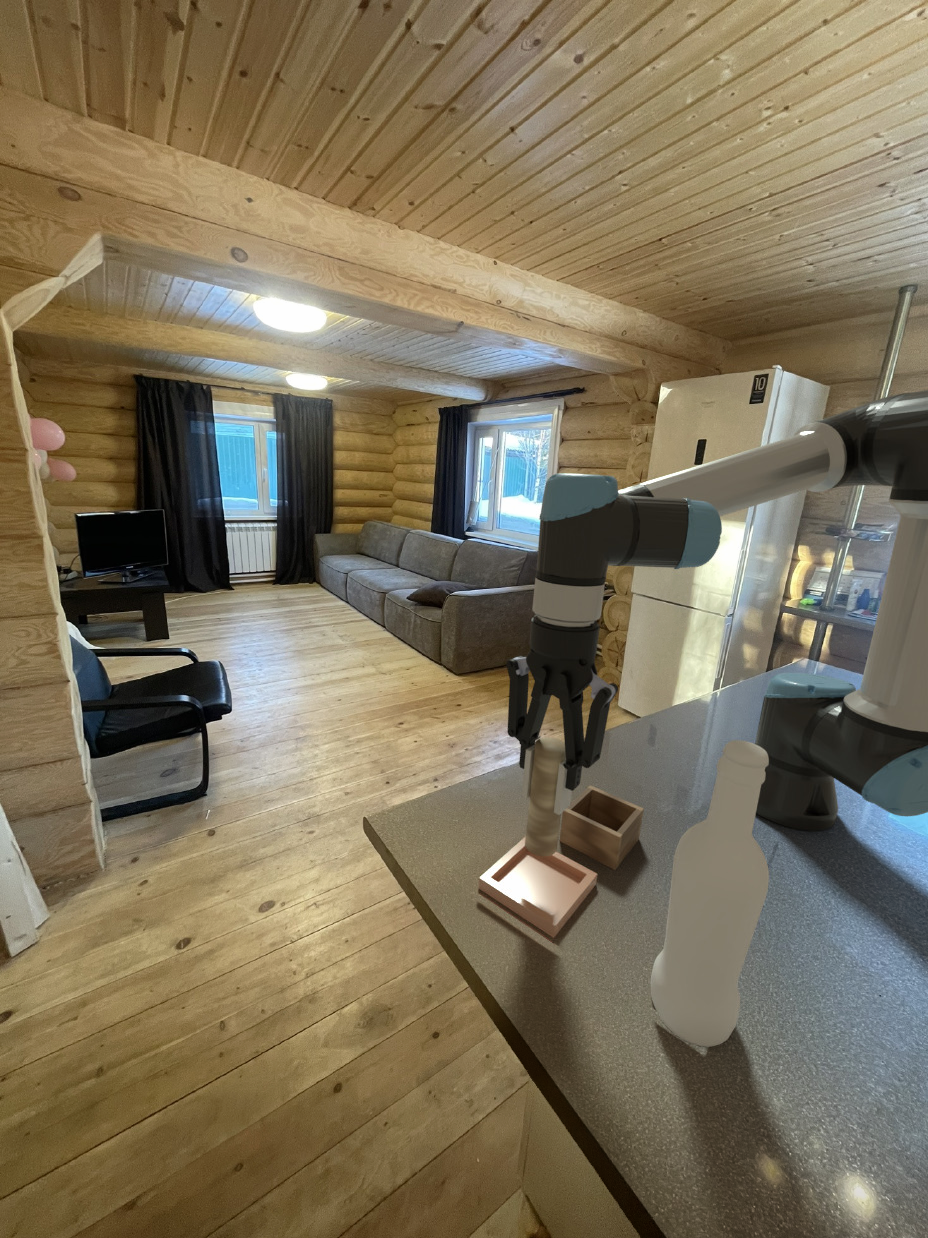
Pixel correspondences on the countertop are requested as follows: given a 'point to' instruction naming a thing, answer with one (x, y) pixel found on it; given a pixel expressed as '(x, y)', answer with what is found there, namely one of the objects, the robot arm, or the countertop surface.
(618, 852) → the small wooden box
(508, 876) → the tray
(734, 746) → the bottle
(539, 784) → the dowel
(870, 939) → the countertop surface
